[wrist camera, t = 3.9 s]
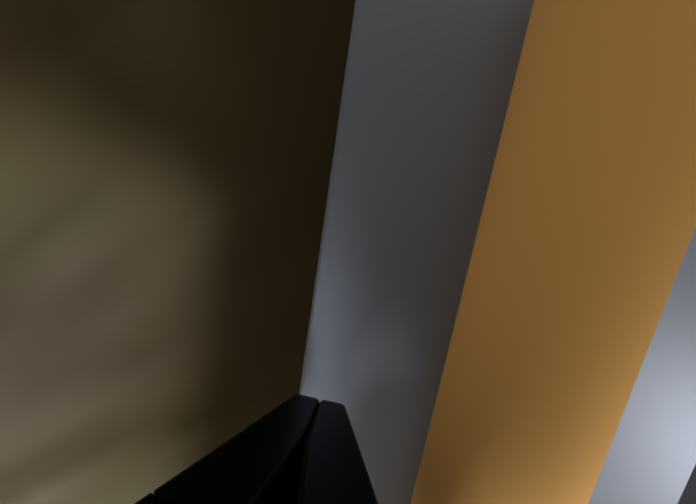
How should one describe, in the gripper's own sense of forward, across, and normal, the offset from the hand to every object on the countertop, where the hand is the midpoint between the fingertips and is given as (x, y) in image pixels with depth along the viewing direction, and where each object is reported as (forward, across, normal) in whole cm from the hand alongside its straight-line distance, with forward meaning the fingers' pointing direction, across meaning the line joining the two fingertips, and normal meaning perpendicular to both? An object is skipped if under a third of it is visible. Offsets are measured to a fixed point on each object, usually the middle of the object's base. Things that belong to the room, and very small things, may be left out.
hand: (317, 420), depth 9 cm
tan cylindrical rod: (0, -3, 0) cm, 3 cm away
